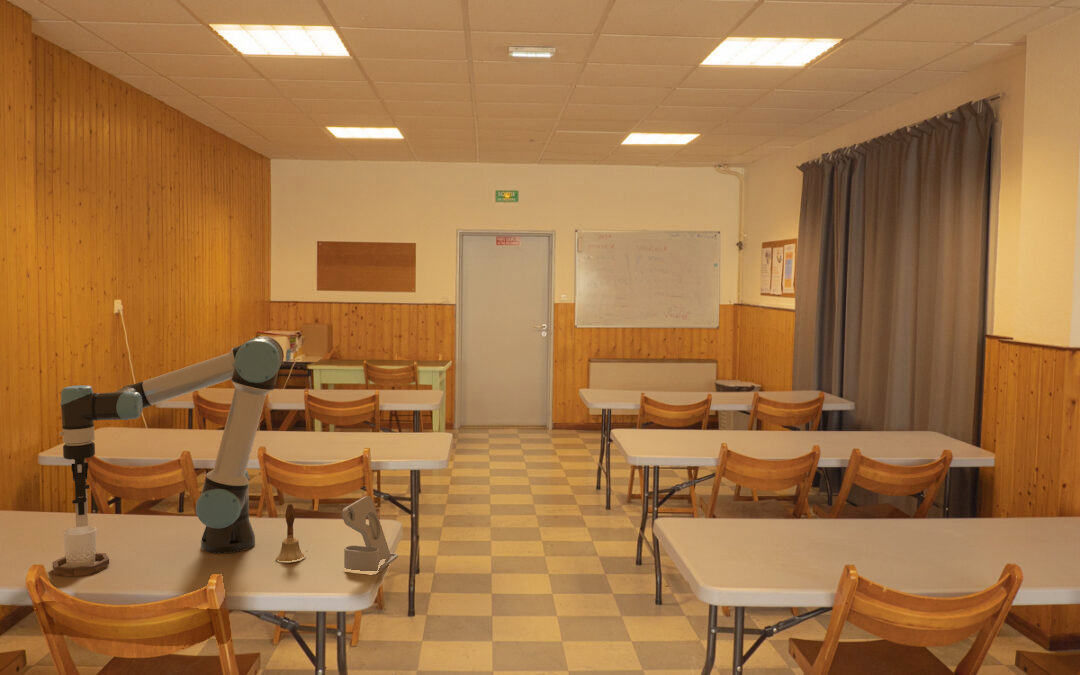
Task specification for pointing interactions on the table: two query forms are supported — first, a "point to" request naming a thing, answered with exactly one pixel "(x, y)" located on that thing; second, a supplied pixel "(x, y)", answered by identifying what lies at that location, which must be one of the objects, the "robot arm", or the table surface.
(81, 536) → the white cup
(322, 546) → the table surface
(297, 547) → the hand bell
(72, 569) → the coaster ring
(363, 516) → the phone holder
